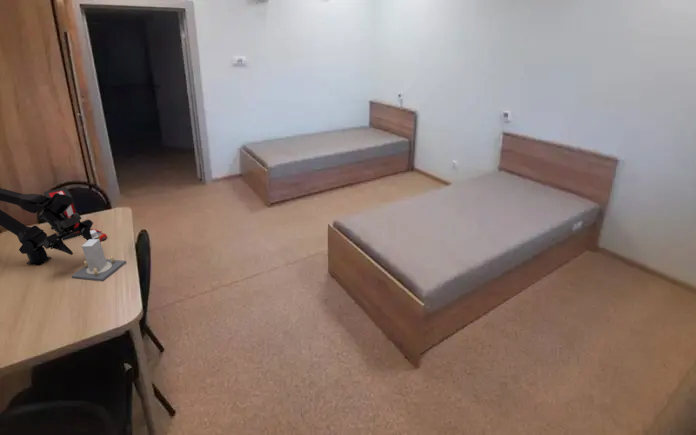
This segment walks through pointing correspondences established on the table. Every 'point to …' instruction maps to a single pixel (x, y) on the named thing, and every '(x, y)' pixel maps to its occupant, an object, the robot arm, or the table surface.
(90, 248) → the skincare box
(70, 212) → the cleaning product box
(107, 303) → the table surface
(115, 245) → the table surface
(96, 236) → the supplement bottle
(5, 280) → the table surface
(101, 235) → the race car
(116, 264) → the pin cradle
